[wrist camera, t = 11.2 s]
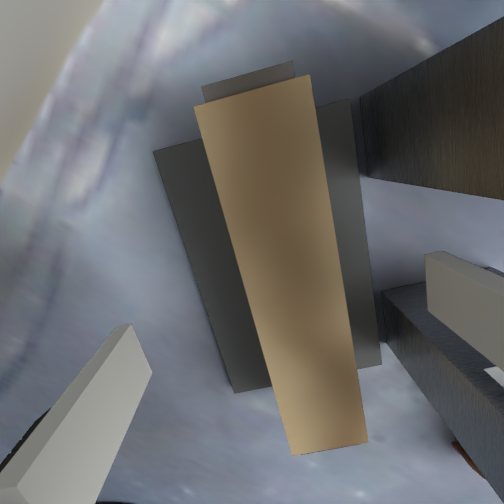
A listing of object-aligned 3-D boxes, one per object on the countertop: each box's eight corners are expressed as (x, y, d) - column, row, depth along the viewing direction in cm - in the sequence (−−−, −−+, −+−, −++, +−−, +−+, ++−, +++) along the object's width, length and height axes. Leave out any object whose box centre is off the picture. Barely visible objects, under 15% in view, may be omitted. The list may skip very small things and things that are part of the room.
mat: (235, 386, 20) (234, 393, 19) (156, 151, 15) (152, 151, 14) (378, 358, 19) (382, 364, 18) (345, 100, 14) (349, 98, 13)
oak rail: (284, 395, 19) (294, 463, 15) (207, 109, 14) (187, 87, 9) (343, 384, 19) (369, 450, 15) (288, 86, 13) (306, 53, 9)
